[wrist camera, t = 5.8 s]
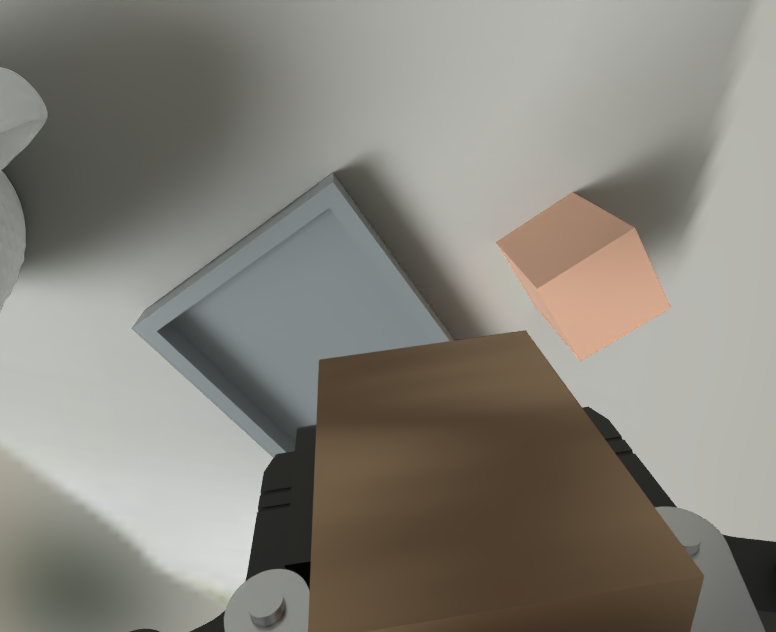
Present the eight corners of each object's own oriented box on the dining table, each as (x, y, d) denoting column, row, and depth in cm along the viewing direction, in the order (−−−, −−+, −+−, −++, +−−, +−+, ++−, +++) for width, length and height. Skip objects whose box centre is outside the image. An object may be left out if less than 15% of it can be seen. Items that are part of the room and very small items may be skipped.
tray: (144, 310, 27) (131, 328, 25) (332, 172, 24) (333, 182, 23) (333, 487, 33) (333, 512, 32) (492, 392, 31) (502, 413, 29)
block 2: (347, 511, 13) (360, 825, 8) (319, 359, 11) (307, 641, 6) (522, 484, 13) (654, 772, 8) (525, 330, 11) (703, 575, 6)
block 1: (495, 242, 27) (537, 288, 22) (572, 191, 26) (634, 227, 21) (533, 304, 29) (580, 361, 24) (606, 259, 28) (671, 307, 23)
